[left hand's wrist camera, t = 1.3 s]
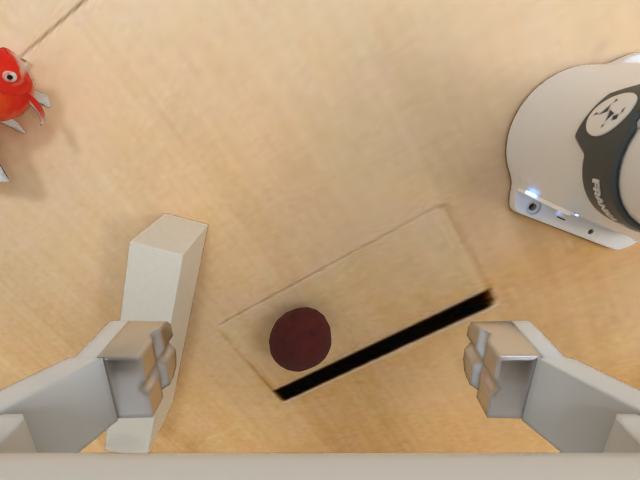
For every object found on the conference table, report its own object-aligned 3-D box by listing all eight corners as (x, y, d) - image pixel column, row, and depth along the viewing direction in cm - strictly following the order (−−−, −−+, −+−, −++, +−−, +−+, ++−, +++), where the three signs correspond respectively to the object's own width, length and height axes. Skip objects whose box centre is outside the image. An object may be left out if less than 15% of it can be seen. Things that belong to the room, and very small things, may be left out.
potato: (263, 332, 49) (254, 369, 42) (291, 286, 46) (287, 318, 40) (312, 355, 50) (311, 394, 44) (342, 312, 48) (346, 347, 41)
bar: (165, 212, 43) (129, 241, 35) (208, 224, 44) (183, 255, 35) (137, 394, 53) (104, 449, 45) (172, 402, 53) (147, 458, 45)
